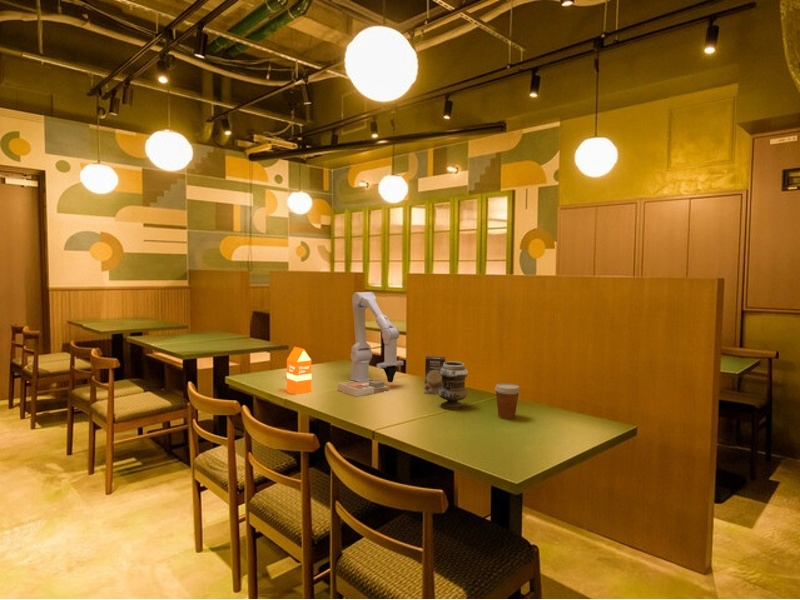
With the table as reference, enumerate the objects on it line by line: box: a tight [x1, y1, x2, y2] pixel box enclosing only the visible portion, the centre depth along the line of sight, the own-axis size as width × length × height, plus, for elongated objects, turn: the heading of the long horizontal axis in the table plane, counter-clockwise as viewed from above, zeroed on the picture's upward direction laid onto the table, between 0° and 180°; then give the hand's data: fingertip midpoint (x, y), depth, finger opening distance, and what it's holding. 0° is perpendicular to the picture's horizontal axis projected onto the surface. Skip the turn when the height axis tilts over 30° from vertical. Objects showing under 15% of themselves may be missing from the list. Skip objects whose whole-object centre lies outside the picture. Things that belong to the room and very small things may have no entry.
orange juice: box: [286, 346, 312, 395], centre depth 231 cm, size 8×9×20 cm
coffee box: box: [423, 355, 446, 395], centre depth 234 cm, size 9×6×16 cm
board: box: [357, 380, 390, 394], centre depth 238 cm, size 15×8×2 cm, turn 40°
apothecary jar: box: [437, 360, 469, 410], centre depth 211 cm, size 12×12×18 cm
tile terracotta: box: [347, 382, 362, 390], centre depth 236 cm, size 5×5×2 cm
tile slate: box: [369, 379, 385, 388], centre depth 236 cm, size 5×5×2 cm
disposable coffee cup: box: [494, 382, 521, 420], centre depth 198 cm, size 10×10×12 cm
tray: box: [337, 380, 375, 398], centre depth 233 cm, size 15×10×4 cm, turn 40°
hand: (390, 381), depth 241 cm, fingers closed
